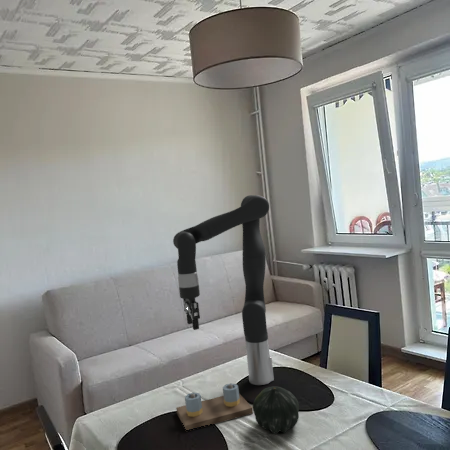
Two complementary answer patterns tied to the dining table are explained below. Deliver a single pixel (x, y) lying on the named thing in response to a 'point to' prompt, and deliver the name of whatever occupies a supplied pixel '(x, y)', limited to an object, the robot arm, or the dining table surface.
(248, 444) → the dining table surface
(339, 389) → the dining table surface
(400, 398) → the dining table surface
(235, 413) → the pin board
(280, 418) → the squash
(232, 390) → the seated sleeve
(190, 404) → the slate sleeve
